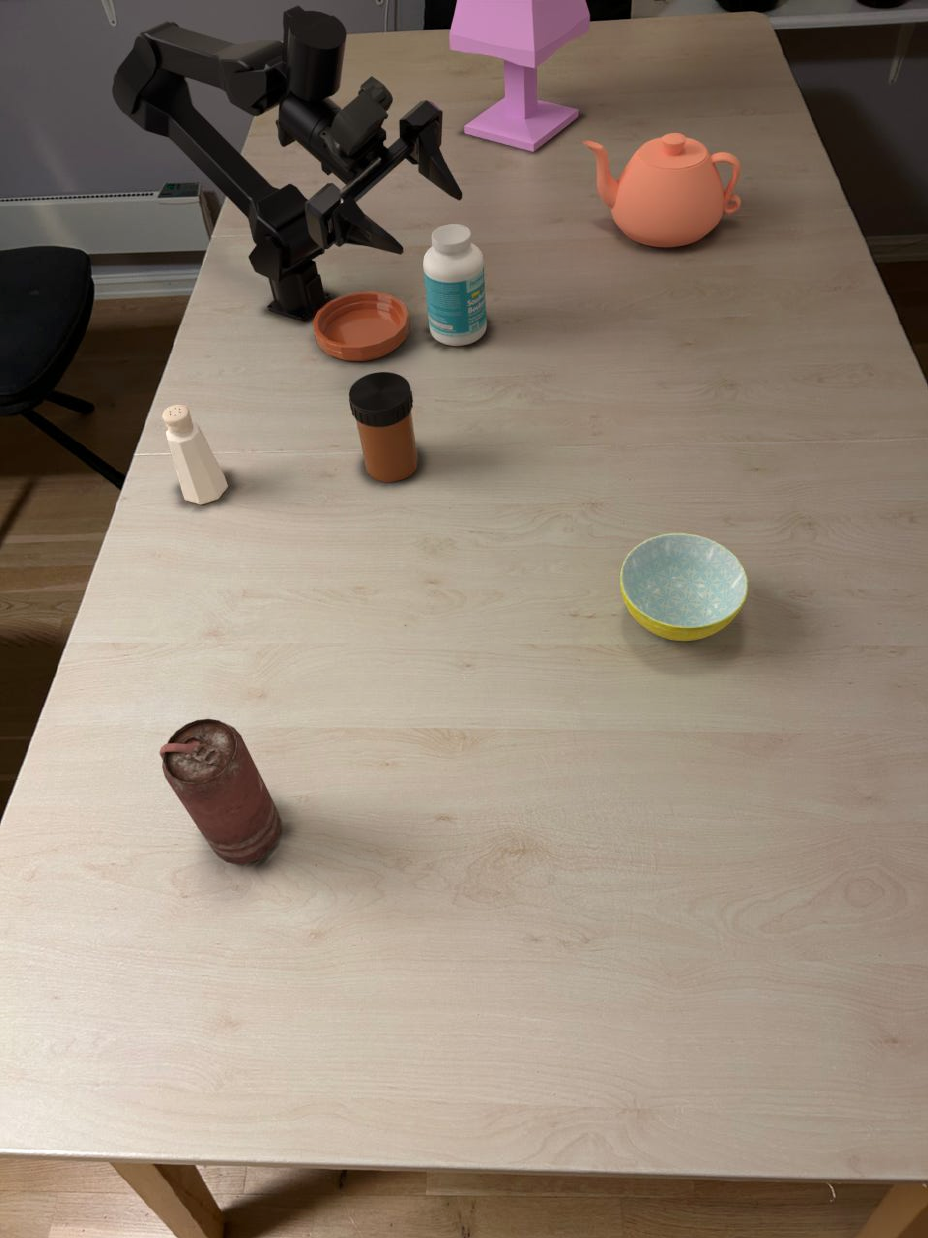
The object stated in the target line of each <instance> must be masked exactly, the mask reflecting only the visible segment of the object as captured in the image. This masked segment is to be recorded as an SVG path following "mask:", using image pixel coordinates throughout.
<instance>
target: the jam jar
mask: <svg viewBox="0 0 928 1238" xmlns="http://www.w3.org/2000/svg"><path fill="white" fill-rule="evenodd" d="M355 421H356V426H357V430H358V431H357V432H358V436H359V440H360V445H361V450H362V456H363V460H364V461H363V462H364V465H365V470H366V472H367V474H368V475H369V476H370V477H371V478H372V479H374V480H376V481H379V482H382V483H383V482H384V483H394V482H395V483H396V482H399V481H403V480H405V479H406V478H408V477H410V476H412V474H414V472H416V470H417V468H418V465H419V457H418V449H417V444H416V443H417V442H416V437H415V429H414V422H413V414H412V411H411V412H410V413H409V415H408V416H407V417H406V418H404V419H403V420H402V421H400V422H398V423H396V424H393V425H390V426H385V427H372V426H367V425H364V424H362V423H360V422H359V421H357V420H356V419H355Z"/></svg>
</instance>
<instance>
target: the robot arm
mask: <svg viewBox="0 0 928 1238" xmlns="http://www.w3.org/2000/svg"><path fill="white" fill-rule="evenodd" d="M282 14H283V15H282V16H283V17H282V26H283V40H282V41H280V40H276V39H259V40H254V41H253V40H252V41H248V42H243V43H233V42H230V41H227V40H223V39H220V38H216V37H214V36H210V35H207V34H203V33H200V32H198V31H194V30H190V29H187V28H183V27H181V26H179V25H178V23H176V22H174V21H162V22H160V23H158V24H155V25H153V26H151V27H149V28H147V29H146V28H145V30H143V31H140V33H139V34H138V35H137V36H136V38H135V39H134V43H133V46H132V49H131V50H130V52H129V53H128V54H127V55H126V57H125V58H124V59H123V61H122V62H121V63H120V64H119V66H118V67H117V69H116V72H115V74H114V75H113V83H112V84H113V85H112V87H111V93H112V97H113V100H114V102H115V104H116V106H117V107H118V109H119V110H120V111H121V112H122V113H123V114H124V115H126V117H128V118H129V119H130V120H131V121H133V122H134V123H135V124H136V125H137V126H138V127H139V128H141V129H142V130H143V131H146V132H148V133H151V134H155V135H159V136H161V137H166V138H168V139H169V140H171V141H172V142H173V143H174V144H175V146H177V147H178V149H180V150H181V152H182V153H183V154H185V156H186V157H188V159H189V160H190V161H191V162H192V163H193V164H194V165H195V166H196V167H197V168H198V169H199V170H200V171H201V172H202V174H204V175H205V176H206V177H207V178H208V179H209V180H210V181H211V182H212V183H213V184H214V185H215V186H216V187H217V188H218V189H219V191H221V192H222V194H224V195H225V196H226V198H227V199H228V200H229V201H230V202H231V203H232V204H234V206H235V207H236V208H237V209H238V210H239V211H240V212H241V213H242V214H243V215H244V216H245V217H246V218H247V220H248V224H249V229H250V232H251V237H252V241H253V243H254V244H255V246H254V247H253V249H252V250H251V252H250V253H249V255H248V260H249V261H250V264H251V267H252V268H253V271H254V272H255V273H256V274H258V275H260V276H262V277H264V278H267V279H268V283H269V286H270V291H271V294H272V299H273V300H272V301H271V302H269V304H268V305H267V306H266V310H267V311H268V312H271V313H274V314H278V315H281V316H284V317H287V318H290V319H293V320H296V321H300V322H305V321H307V320H309V319H310V317H312V316H313V315H314V314H315V313H317V312H318V311H319V310H320V309H321V308H322V307H323V306H324V305H325V304H327V303H328V302H329V301H330V300H331V298H332V295H331V293H330V292H328V291H324V287H323V281H322V277H321V274H319V271H318V267H317V266H318V265H317V262H316V261H315V260H314V259H316V258H319V256H323V255H324V254H325V250H330V249H331V247H333V246H334V245H335V246H337V247H338V248H341V247H342V246H344V245H345V244H347V245H354V246H362V247H367V248H372V249H376V250H380V251H384V252H389V253H392V254H396V255H399V256H401V255H403V254H404V251H405V250H404V246H403V245H402V244H401V243H400V242H399V241H398V240H397V239H396V238H395V237H394V236H393V235H392V234H390V233H389V232H388V231H387V230H386V229H384V228H383V227H382V226H381V225H379V224H378V223H377V222H376V221H374V220H373V219H372V218H371V217H369V216H368V215H367V214H366V213H365V212H364V211H363V210H362V209H361V208H360V206H359V205H358V201H360V200H361V199H362V198H363V197H364V196H365V195H367V194H368V193H369V192H370V191H371V190H372V189H373V188H374V187H375V186H377V185H378V184H379V183H380V182H381V181H382V180H383V179H384V178H386V177H387V175H389V174H390V173H391V172H393V170H395V168H396V167H398V166H399V165H400V164H401V163H403V162H404V161H405V160H407V161H408V162H409V163H410V164H411V165H417V167H418V168H417V171H418V172H417V173H419V174H420V175H421V176H423V177H424V178H425V179H427V180H428V181H429V182H431V183H432V184H433V185H435V187H437V188H439V189H440V190H441V191H442V192H444V193H445V194H447V195H448V196H450V197H451V198H453V199H455V200H457V201H458V202H460V201H461V200H463V190H462V189H461V187H460V185H459V184H458V183H457V180H456V179H455V177H454V175H453V173H452V171H451V169H450V167H449V166H448V164H447V161H446V160H445V158H444V156H443V154H442V151H441V149H440V148H441V146H442V140H443V139H442V138H443V137H442V136H443V117H444V116H443V115H444V113H443V112H444V111H443V110H442V109H440V108H439V106H437V105H436V104H435V103H433V101H430V100H427V99H424V100H420V101H418V103H417V104H415V105H414V106H413V107H412V108H411V109H410V110H409V111H408V112H406V113H405V114H404V115H403V116H402V117H401V118H400V119H399V120H398V121H399V122H398V124H399V125H398V126H399V129H398V130H399V138H397V139H396V140H395V141H394V142H393V143H392V144H391V145H390V146H388V147H387V146H386V145H385V144H384V143H385V141H386V140H387V131H386V130H385V128H383V127H382V126H383V124H384V122H385V120H387V119H388V117H389V113H387V111H389V110H390V108H391V106H392V105H393V102H394V97H393V95H392V93H391V92H390V90H389V89H388V88H387V87H386V85H385V84H384V83H382V82H381V81H379V80H378V79H377V78H375V77H374V76H373V75H371V76H370V77H368V79H366V80H365V81H364V82H363V83H362V84H360V89H359V90H358V92H357V96H356V97H354V98H353V99H352V100H351V101H350V102H349V103H347V104H346V105H345V106H343V108H342V107H341V106H339V104H337V103H336V102H335V101H334V100H332V99H331V98H330V97H333V96H334V95H336V94H337V93H338V92H339V90H340V88H341V83H342V74H343V67H344V66H343V65H344V57H345V52H346V51H345V50H346V44H347V43H346V42H347V37H348V34H347V29H346V26H345V25H344V23H343V22H342V21H341V20H340V19H339V18H338V17H336V16H335V15H330V14H329V13H326V12H325V13H324V12H322V11H317V10H305V9H304V8H302V7H301V6H300V5H299V4H297V5H296V6H293V7H291V8H289V9H286V10H285V11H283V13H282ZM187 79H191V80H194V81H197V82H199V83H201V84H205V85H208V86H211V87H213V88H217V89H220V90H222V91H223V92H225V93H226V96H227V98H228V101H229V103H230V104H232V105H234V106H235V107H236V108H239V109H240V110H241V111H243V112H244V113H247V114H249V115H250V116H252V117H259V116H261V115H264V114H265V113H267V112H269V111H271V110H273V109H275V108H276V107H278V116H277V119H276V120H275V125H276V128H277V138H278V142H279V144H280V146H281V147H282V148H286V147H287V146H289V145H291V144H293V143H295V142H297V144H299V145H300V146H301V147H302V148H303V149H305V151H307V152H308V153H309V154H310V155H312V157H313V158H314V159H316V160H317V161H318V162H319V163H320V167H321V171H322V172H323V173H324V174H325V175H326V176H327V177H329V176H330V175H331V174H333V175H334V176H335V177H336V178H337V179H339V180H340V181H341V182H342V183H343V184H344V186H343V187H342V188H339V187H338V186H337V185H336V184H334V182H327V183H326V184H325V185H324V186H322V187H321V188H320V189H319V190H318V191H317V192H315V194H313V195H312V196H310V197H309V199H308V198H307V197H306V196H305V195H304V194H303V193H302V192H301V191H300V189H299V188H298V187H297V186H296V185H294V184H292V183H288V184H286V185H284V186H283V187H281V188H278V187H275V186H273V185H272V184H271V183H269V182H268V180H267V179H265V178H264V177H263V175H262V174H261V173H260V172H259V171H258V170H257V169H256V168H255V167H254V166H253V165H252V164H251V163H250V162H249V161H248V160H247V159H246V158H245V157H244V156H243V155H242V154H241V153H240V152H239V151H238V150H237V149H236V148H235V147H234V146H233V145H232V144H231V142H229V141H228V140H227V138H225V136H224V135H223V134H222V133H221V132H219V130H218V129H216V127H215V126H214V125H213V124H212V123H211V122H209V120H208V119H207V118H206V117H205V116H204V115H203V114H202V113H201V112H200V111H199V110H198V109H197V108H196V107H195V105H194V103H193V99H192V95H191V90H190V86H189V83H188V81H187Z"/></svg>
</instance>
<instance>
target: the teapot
mask: <svg viewBox="0 0 928 1238" xmlns="http://www.w3.org/2000/svg"><path fill="white" fill-rule="evenodd" d="M582 143H583V144H584V145H585V146H586V147H587V148H588V149H589V150H591V152H592V153H593V155H594V157H595V162H596V187H597V192H598V195H599V197H600V199H601V200H602V202H603V203H604V204H605V205H606V206H608V207H609V208H610V213H611V217H612V219H613V221H614V223H615V224H616V226H617V227H618V228H619V229H620V230H621V232H622V233H623V234H624V235H625V236H626V237H628V238H629V239H630V240H631V241H634V242H636V243H639V244H640V245H641V244H642V245H646V246H649V247H655V248H675V247H677V248H678V247H682V246H687V245H690V244H693V243H696V242H698V241H700V240H701V239H703V238H704V237H705V236H707V235H708V234H709V233H710V232H712V231H713V230H714V229H715V228H716V226H717V225H719V223H720V221H721V220H722V217H723V214H725V215H732V214H735V213H737V212H738V211H739V209H740V208H741V204H742V200H741V197H740V196H739V195H738V194H736V193H735V194H733V192H734V190H735V188H736V187H737V184H738V182H739V179H740V175H741V163H740V160H739V159H738V158H737V156H735V155H734V154H733V153H730V152H727V151H720V152H716V153H713V154H712V155H711V153H710V152H709V150H708V148H707V147H706V146H705V144H703V143H702V142H700V141H698V140H696V139H694V138H691V137H687V136H686V135H685V134H683V133H679V132H670V133H666V134H664V135H663V136H662V137H655V138H654V139H651V140H648V141H646V142H644V143H643V144H642V145H641V146H640V147H639V148H638V149H637V150H636V151H635V152H634V154H633V156H632V157H630V159H629V161H628V163H627V164H626V165H625V166H624V168H623V170H622V171H621V173H620V175H619V177H618V180H617V179H615V178H614V177H613V176H612V175H611V173H610V158H609V154H608V151H607V149H606V148H605V146H604V145H602V144H600V143H598V142H596V141H591V140H583V141H582ZM717 163H727V164H729V165H731V167H732V173H731V177H730V179H729V182H728V184H727V186H726V188H725V190H724V185H723V181H722V177H721V175H720V172H719V169H718V167H717V165H716V164H717ZM729 202H734V203H733V204H729Z"/></svg>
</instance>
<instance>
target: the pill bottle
mask: <svg viewBox="0 0 928 1238" xmlns="http://www.w3.org/2000/svg"><path fill="white" fill-rule="evenodd" d="M422 264H423V265H422V269H423V277H424V287H425V295H426V305H427V315H428V325H429V330H430V334H431V336H432V337H433V339H434V340H436V341H437V342H438V343H440V344H443V345H445V346H453V347H462V346H467V345H470V344H473V343H475V342H477V341H479V340H480V339H481V338H482V337H483V336H484V335H485V333H486V331H487V326H488V320H487V319H488V318H487V301H486V300H487V299H486V282H485V281H486V279H485V278H486V277H485V259H484V255H483V252H482V251H481V249H480V248H479V246H477V245H476V244H474V243H472V233H471V230H470V229H469V228H468V227H467V226H465V225H463V224H458V223H448V224H444V225H441V226H438V227H436V228H435V229H434V230H433V231H432V233H431V246H430V248H428V249H427V251H426V252H425V254H424V256H423V260H422Z"/></svg>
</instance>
